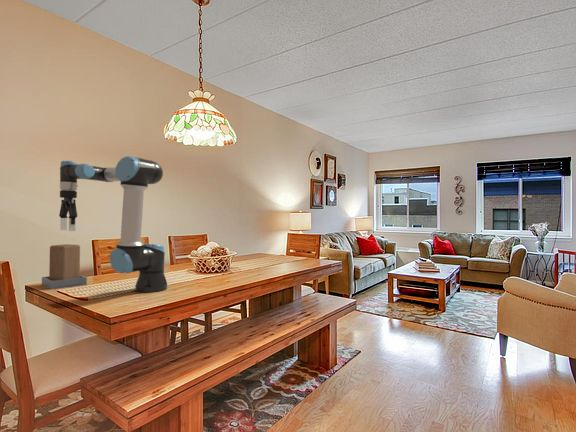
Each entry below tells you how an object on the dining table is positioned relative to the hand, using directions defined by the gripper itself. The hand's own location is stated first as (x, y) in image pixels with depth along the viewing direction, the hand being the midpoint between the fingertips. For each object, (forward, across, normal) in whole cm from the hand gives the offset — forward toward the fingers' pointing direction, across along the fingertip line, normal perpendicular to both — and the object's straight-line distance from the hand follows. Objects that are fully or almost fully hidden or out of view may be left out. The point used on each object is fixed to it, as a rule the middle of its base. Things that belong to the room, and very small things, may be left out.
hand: (67, 230), depth 174 cm
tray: (+29, +1, +1) cm, 29 cm away
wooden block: (+28, 0, +1) cm, 28 cm away
